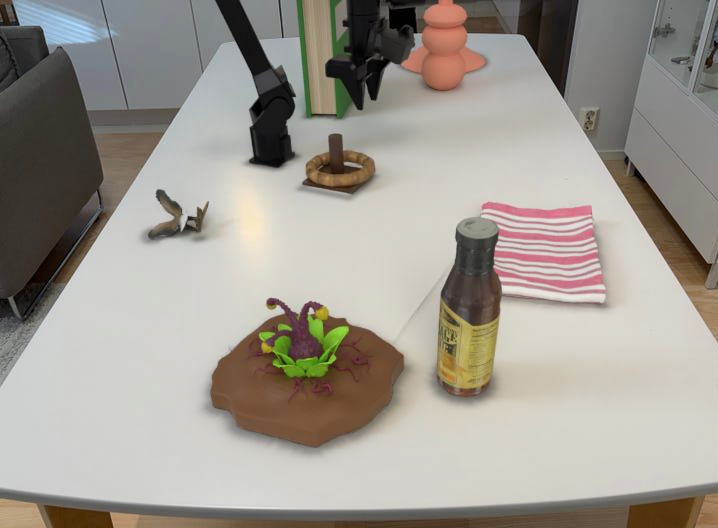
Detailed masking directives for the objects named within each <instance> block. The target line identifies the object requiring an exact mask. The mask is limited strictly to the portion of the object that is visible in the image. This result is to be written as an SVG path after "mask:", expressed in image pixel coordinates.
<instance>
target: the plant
mask: <svg viewBox="0 0 718 528" xmlns="http://www.w3.org/2000/svg"><path fill="white" fill-rule="evenodd" d="M265 306H266V308H267V309H268V310H271V311H272V310H275V309H276V308H277V307H278V306H279V307H280V309H281V310H283V311H284V313H281V314H278V315H275V316H272V317H270V318H268V319H267V320H265V321H264V322H263V323H262V324H260V325H259V326H258V327H257V328H256V329H255V330H253V331H251V333H249V334H247V336H245V337H243V339H242V340H241V341H239V343H238V344H237V345H236V346H235V347H234V348H232V350H230V352H229V353H227V354H226V355H224V356H223V357H221V358H220V359H219V360H218V361H217V365H216V367H215V369H214V370H213V372H212V374H211V382H212V384H211V388H210V392H209V394H210V398H211V403H212V406H213V408H215V409H221V410H225V411H227V412H229V414H231V415H232V416H233V418H234V421H235V424H236V426H237V427H239V428H241V429H243V430H245V431H250V432H256V433H260V434H263V435H266V436H267V435H268V436H272V437H277V438H280V439H284V440H287V441H290V442H293V443H297V444H301V445H304V446H308V447H314V448H315V447H319V446H321V445H323V444H325V443H327V442H329V441H331V440H333V439H335V438H336V437H339V436H341V435H343V434H344V435H345V434H347V433H353V432H354V431H357V430H358V429H360V428H362V427H364V426H365V425H367V424H368V423H370V421H372V420H373V418H375V416H376V415H378V413H380V411H382V410H383V409H384V408H385V407H386V406H387V405H388V404H389V403H390V402H391V400H392V398H393V385H394V382H395V381H396V379H397V378H398V377H399V375H400V374H401V373H402V372H403V370H404V369H405V358H404V354H403V353H402V352H400V351H399V350H398V349H397V348H396V347H395V346H394V345H392V344H390V342H388V341H387V340H384V339H383V338H382V337H380V336H379V335H378V334H376V332H374V331H372V330H370V329H368V328H366V327H361V326H357V325H352V324H351V323H349V322H348V320H347V318H346V317H334V316H331V315H330V311H329V308H327V307H326V306H325V305H324V304H321V303H320V302H317V301H312V300H309V301H308V302H306V303H304V304H303V306H302V308H301V309H300V312H299V313H297V312H296V311H293V310H291V309H292V308H291V307H289V305H288V304H286V303H285V302H284V301H282V300H280V299H279V298H277V297H269V298H267V299H266V301H265ZM310 308H311V309H312V310H313V313H311V314H310V313H309V312H310Z"/></svg>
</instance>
